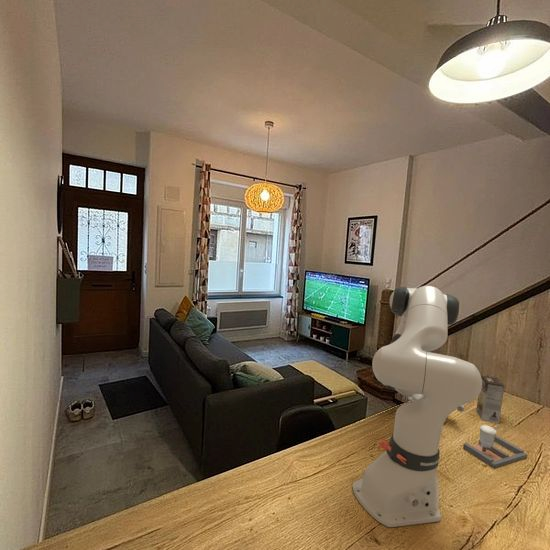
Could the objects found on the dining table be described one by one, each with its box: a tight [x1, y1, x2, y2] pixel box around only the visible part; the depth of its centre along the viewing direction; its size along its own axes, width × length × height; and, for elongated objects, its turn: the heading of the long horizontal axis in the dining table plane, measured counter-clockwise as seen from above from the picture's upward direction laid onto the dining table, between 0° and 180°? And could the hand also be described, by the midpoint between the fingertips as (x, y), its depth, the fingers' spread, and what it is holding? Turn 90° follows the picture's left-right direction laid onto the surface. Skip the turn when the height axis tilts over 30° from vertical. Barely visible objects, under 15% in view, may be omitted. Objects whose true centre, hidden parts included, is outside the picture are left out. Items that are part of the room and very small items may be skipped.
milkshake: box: [479, 424, 500, 456], centre depth 105 cm, size 4×5×10 cm
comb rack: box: [462, 435, 528, 469], centre depth 106 cm, size 18×10×2 cm, turn 113°
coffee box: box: [475, 374, 506, 424], centre depth 132 cm, size 9×6×16 cm
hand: (454, 411), depth 116 cm, fingers open, 8 cm apart
